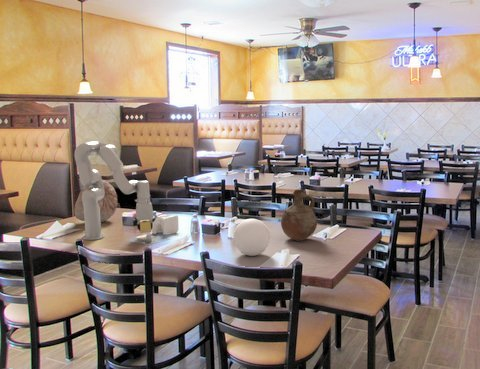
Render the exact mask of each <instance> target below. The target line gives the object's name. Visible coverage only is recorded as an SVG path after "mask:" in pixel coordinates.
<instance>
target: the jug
mask: <svg viewBox="0 0 480 369" xmlns="http://www.w3.org/2000/svg"><path fill="white" fill-rule="evenodd" d="M292 194H293V197H294V199H293V203H292V204H291V205H290V206H288V207H287V208H285V210H284V211H283V214H282V215H281V216H282V217H281V220H280V226H281V229H282V231H283V233H284V234H285V236H286V237H288V238H289V239H290V240H291V239H292V240H291V241H293V240H298V241H297V242H300V241H299V240H304V241H306V240H307V239H308V238H309V237H311V236H312V235H313V234H314V233H315V231H316V229H317V226H318V221H317V217H316V214H315V212H314V210H313V209H314V206H315V198H314V197H313V196H312V195H311V194H307V190H305V189H295V190H294V191H293V193H292ZM304 199H309V200H310V203H309V204H308V205H306V204H304ZM305 239H306V240H305Z"/></svg>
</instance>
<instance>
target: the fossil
mask: <svg viewBox="0 0 480 369" xmlns="http://www.w3.org/2000/svg"><path fill="white" fill-rule="evenodd" d="M102 182H103V186H104V191H105V195H104V197H103V199H101V200H99V201H98V204H99V208H100V222H101V223H103V222H106V221H108V220H109V219H111V218H112V216H114V214H115V213H116V210H117V207H118V203H119V202H118V194H117V192H116V189H115V188H114V186H113V185H111V184H110V182H107V181H105V180H103V179H102ZM88 188H89V186H84V188H82V190H81V191H80V192H79V194H78V197H77V199H76V201H75V203H74V217H75V218H76V219H77V220H80V221H82V222H85V219H84V206H83V201H82V193H83V192H84V191H85V190H86V189H88Z"/></svg>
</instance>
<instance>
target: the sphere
mask: <svg viewBox="0 0 480 369" xmlns="http://www.w3.org/2000/svg"><path fill="white" fill-rule="evenodd" d="M232 239H233V244H234V246H235V248H236V249H237V250H238V251H239V252H240V253H242V255H246V256H248V257H249V256H250V257H255V256H258V255H261V254H262V253H264V252H265V251H266V250H267V248H268V247H269V245H270V242H271V232H270V230H269V228H268V226H267V225H266V224H265V222H263V221H261V220H259V219H257V218H247V219H244V220H242V221H241V222H240V223H238V225H237V226H236V227H235V229H234V231H233V238H232Z"/></svg>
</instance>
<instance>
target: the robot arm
mask: <svg viewBox="0 0 480 369" xmlns="http://www.w3.org/2000/svg"><path fill="white" fill-rule="evenodd" d="M118 151H119V150H118V148H117V147H116V146H115V145H114V144H112V143H111V144H110V143H105V142H100V141H97V140H96V141H93V140H92V141H86V142H81V143H80V144H79V145H78V146H76V148H75V150H74V161H75V164H76V167H77V172H78V173H77V174H78V177H79V181H80V184H81V185H83V187H86V186H89V188H88V189H86V190H85V191H84V192H83V193H82V201H83V206H84V219H85V221H84V230H83V231H82V233H83V234H84V235H82V239H83V240H86V241H94V240H101V239H103V238H104V236H105V235H104V234H103V233H102V222H100V208H99V204H98V201H99V200H101V199H103V197H104V195H105V191H104V186H103V182H102V180H103V178H102V175H101V173H100V172H99V170H97V169H95V168H93V166H92V162H91V160H90V158H89V157H90V156H99V157H100V159H101V160H102V161H103V162H104V164H105V165H106V167H107V168H108V169H109V170H110V172H111V175H112V177H113V181H114V182H115V185H116V186H117V187H118V188H119V190H120V192H121V193H123V194H124V195H131V194H133V193H136V197H137V198H136V199H134V202H135V203H136V206H135V213H134V215H133V216H132V217H131V220H132V221H133V222H135V223H136V226H137V230H138V231H139V232H140V221H142V220H150V222H151V231H152V228H153V222H154V221H155V219H156V218H157V216H158V215H157V214H155V213H154V211H153V210H154V209H153V204H152V202H151V198H150V197H151V196H150V195H151V194H150V193H151V192H150V182H149V181H148V180H135V179H131V180H129V179H128V178H127V177H126V176H125V173H124V164H123V161H122V160H121V159H120V158H119V156H118V153H119V152H118ZM153 217H154V218H153Z"/></svg>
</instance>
